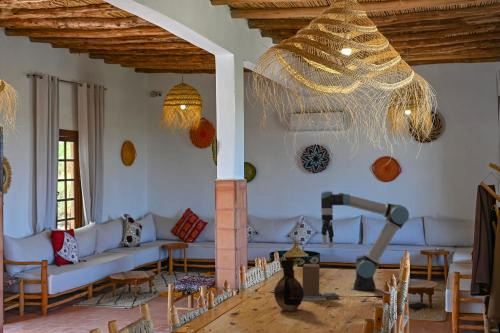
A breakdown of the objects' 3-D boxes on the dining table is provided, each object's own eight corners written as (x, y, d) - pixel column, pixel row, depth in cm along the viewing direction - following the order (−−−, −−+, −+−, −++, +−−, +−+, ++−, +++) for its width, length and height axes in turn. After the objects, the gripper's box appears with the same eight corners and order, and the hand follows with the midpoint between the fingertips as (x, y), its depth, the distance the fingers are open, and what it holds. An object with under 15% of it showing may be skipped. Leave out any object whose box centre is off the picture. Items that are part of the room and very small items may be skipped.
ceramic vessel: (301, 314, 396) (302, 262, 396) (271, 313, 399) (271, 261, 399) (305, 306, 417) (305, 257, 417) (276, 305, 420) (276, 256, 420)
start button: (333, 296, 447) (333, 292, 447) (334, 297, 443) (334, 293, 443) (327, 296, 446) (327, 292, 446) (328, 297, 442) (328, 293, 442)
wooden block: (318, 298, 438) (318, 266, 438) (302, 297, 440) (302, 266, 440) (319, 295, 448) (319, 264, 448) (303, 294, 450) (304, 263, 449)
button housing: (335, 296, 449) (335, 293, 449) (338, 299, 441) (338, 295, 441) (323, 296, 448) (323, 293, 448) (326, 299, 440) (326, 295, 440)
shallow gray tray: (320, 295, 452) (320, 292, 452) (325, 300, 438) (325, 296, 438) (296, 296, 450) (296, 292, 450) (301, 300, 436) (301, 296, 436)
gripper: (316, 213, 477) (317, 244, 477) (327, 215, 452) (328, 248, 453) (326, 212, 478) (327, 243, 478) (338, 215, 454) (338, 247, 454)
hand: (327, 245), depth 466 cm, fingers open, 13 cm apart
